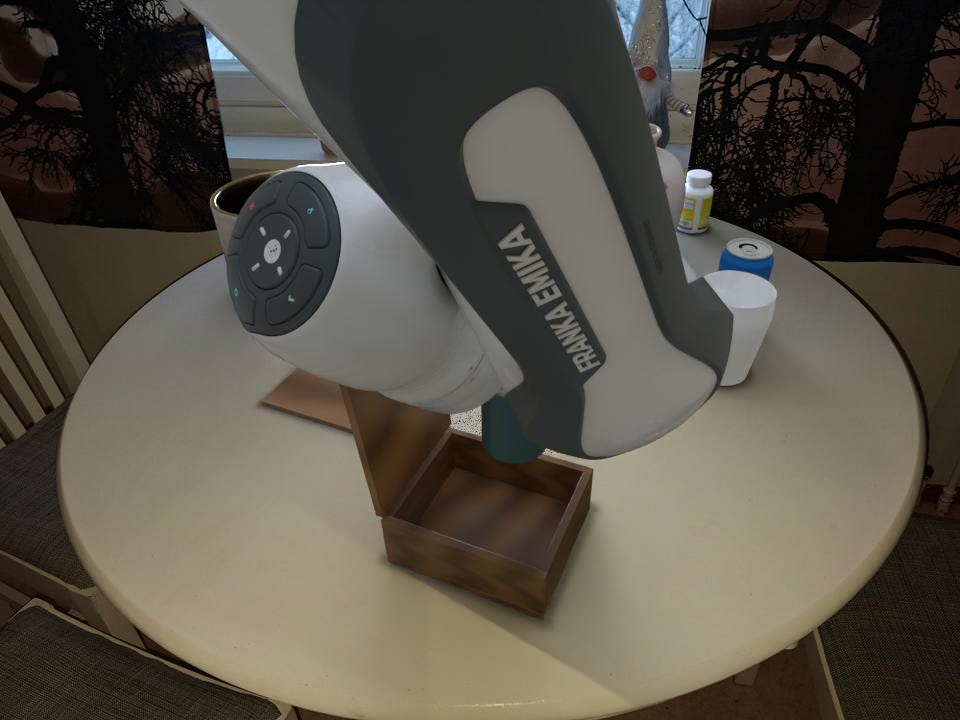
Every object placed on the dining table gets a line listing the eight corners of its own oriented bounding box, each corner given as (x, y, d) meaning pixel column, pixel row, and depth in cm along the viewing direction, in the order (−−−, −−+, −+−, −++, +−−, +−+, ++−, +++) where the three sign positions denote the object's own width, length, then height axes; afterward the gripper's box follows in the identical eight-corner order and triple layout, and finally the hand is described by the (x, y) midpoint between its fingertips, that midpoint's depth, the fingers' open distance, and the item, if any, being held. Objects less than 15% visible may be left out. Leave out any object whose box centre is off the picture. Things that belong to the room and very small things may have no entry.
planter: (279, 253, 116) (258, 163, 106) (371, 269, 110) (358, 175, 101) (211, 306, 102) (181, 208, 93) (312, 326, 97) (290, 225, 88)
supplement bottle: (704, 221, 121) (714, 167, 115) (709, 234, 116) (719, 180, 110) (673, 220, 121) (681, 167, 115) (676, 234, 117) (685, 179, 111)
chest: (589, 508, 68) (593, 468, 65) (542, 620, 59) (544, 579, 55) (451, 465, 74) (448, 426, 70) (387, 561, 64) (380, 520, 61)
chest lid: (427, 282, 61) (419, 281, 61) (341, 367, 51) (333, 365, 51) (451, 423, 70) (445, 421, 70) (383, 518, 60) (376, 516, 61)
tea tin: (534, 473, 54) (539, 363, 48) (469, 452, 56) (465, 345, 50) (558, 427, 59) (565, 321, 52) (496, 410, 61) (496, 306, 54)
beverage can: (752, 314, 96) (771, 237, 89) (759, 340, 91) (780, 261, 84) (705, 311, 97) (720, 235, 90) (709, 337, 92) (725, 258, 85)
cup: (678, 348, 90) (692, 268, 83) (749, 351, 89) (770, 271, 82) (686, 390, 83) (702, 307, 76) (762, 395, 82) (786, 311, 75)
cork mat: (373, 439, 78) (372, 435, 77) (262, 404, 83) (261, 401, 83) (457, 338, 94) (457, 334, 93) (359, 314, 99) (359, 311, 99)
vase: (550, 284, 104) (556, 136, 91) (595, 243, 115) (606, 105, 101) (648, 313, 97) (669, 156, 84) (686, 266, 108) (711, 121, 94)
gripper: (618, 342, 37) (657, 385, 50) (339, 254, 46) (431, 309, 59) (577, 449, 37) (627, 465, 50) (304, 339, 46) (404, 376, 58)
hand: (519, 379), depth 54 cm, fingers closed on tea tin, 5 cm apart
